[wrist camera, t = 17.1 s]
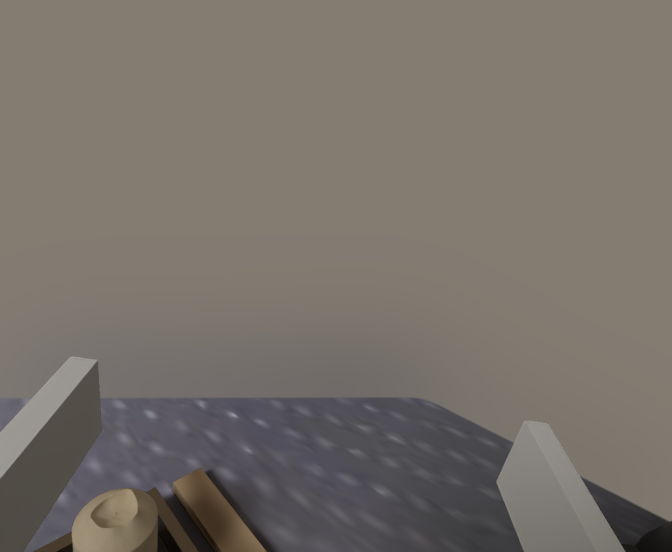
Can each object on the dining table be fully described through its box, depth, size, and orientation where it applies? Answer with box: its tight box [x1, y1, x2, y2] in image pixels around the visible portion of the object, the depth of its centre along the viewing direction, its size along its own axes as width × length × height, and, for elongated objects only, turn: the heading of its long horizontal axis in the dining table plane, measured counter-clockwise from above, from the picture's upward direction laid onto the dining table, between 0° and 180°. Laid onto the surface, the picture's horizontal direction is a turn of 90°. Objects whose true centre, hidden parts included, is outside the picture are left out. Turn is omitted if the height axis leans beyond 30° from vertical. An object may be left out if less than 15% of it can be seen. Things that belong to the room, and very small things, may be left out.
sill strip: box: [173, 468, 266, 552], centre depth 41 cm, size 3×12×1 cm, turn 45°
